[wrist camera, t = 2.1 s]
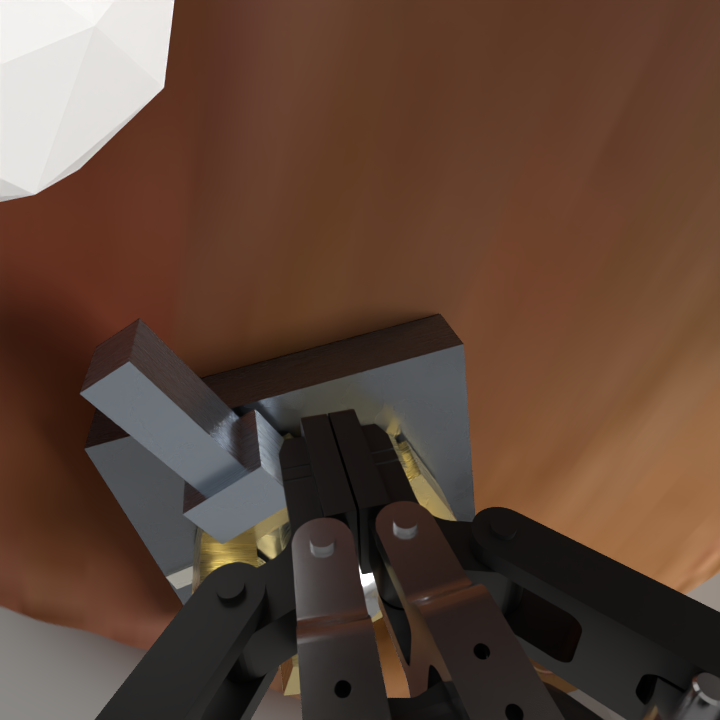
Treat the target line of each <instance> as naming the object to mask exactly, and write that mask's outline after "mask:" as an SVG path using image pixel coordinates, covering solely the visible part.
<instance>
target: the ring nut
mask: <svg viewBox="0 0 720 720" xmlns="http://www.w3.org/2000/svg"><path fill="white" fill-rule="evenodd" d="M80 394H81V395H82V396H83V397H84V398H85V399H87V400H88V401H89V402H90V403H92V404H93V405H94V406H95V407H96V408H98V409H99V410H100V411H101V412H103V413H104V414H105V415H106V416H107V417H109V418H110V419H111V420H112V421H114V422H115V423H116V424H117V425H119V426H120V427H121V428H122V429H123V430H125V431H126V432H127V433H128V434H130V435H131V436H132V437H133V438H134V439H136V440H137V441H138V442H139V443H141V444H142V445H143V446H144V447H145V448H147V449H148V450H149V451H150V452H152V453H153V454H154V455H155V456H156V457H158V458H159V459H160V460H161V461H163V462H164V463H165V464H166V465H167V466H169V467H170V468H171V469H172V470H174V471H175V472H176V473H177V474H178V475H180V476H181V477H182V478H183V479H185V484H184V501H183V515H184V516H185V517H187V518H188V519H189V520H191V521H192V522H193V523H195V524H196V525H197V526H198V528H197V534H196V540H195V546H194V552H193V579H192V594H193V593H194V592H195V591H196V589H197V588H198V587H199V585H200V584H201V583H202V582H203V580H204V579H205V578H206V577H207V576H208V575H209V574H210V573H211V572H212V571H214V570H215V569H217V568H218V567H220V566H223V565H225V564H228V563H233V562H243V563H248V564H251V565H253V566H255V567H256V568H257V567H259V566H261V565H263V564H265V563H266V562H264V561H263V560H262V559H261V558H259V557H258V556H257V549H256V541H257V540H258V539H260V538H262V537H263V536H265V535H267V534H268V533H270V532H272V531H273V530H275V529H277V528H278V527H280V526H282V525H284V524H285V523H287V522H289V519H288V513H287V507H286V501H285V495H284V488H283V481H282V474H281V467H280V461H279V452H280V449H281V447H282V444H283V442H284V440H286V439H292V438H293V437H292V435H291V434H290V433H288V434H286V435H284V436H283V437H282V436H281V435H280V434H279V433H278V432H277V431H276V430H275V429H274V428H273V427H272V426H271V425H270V424H269V423H268V422H267V421H266V420H265V419H264V418H263V417H262V415H261V414H260V413H259V412H258V411H257V410H256V409H253V410H252V411H250V412H249V413H247V414H245V415H244V416H242V417H241V418H239V417H238V416H237V415H236V414H235V413H234V412H233V411H232V410H231V409H230V408H229V407H228V406H227V405H226V404H225V403H224V402H223V401H222V400H221V399H220V398H219V397H218V396H217V395H216V394H215V393H214V392H213V391H212V390H211V389H210V388H209V387H208V386H207V385H206V384H205V383H204V382H203V381H202V380H201V379H200V378H199V377H198V376H197V375H196V374H195V373H194V372H193V371H192V370H191V369H190V368H189V367H188V366H187V365H186V364H185V363H184V362H183V361H182V360H181V359H180V358H179V357H178V356H177V355H176V354H175V353H174V352H173V351H172V350H171V349H170V348H169V347H168V346H167V345H166V344H165V343H164V342H163V341H162V340H161V339H160V338H159V337H158V336H157V335H156V334H155V333H154V332H153V331H152V330H151V329H150V328H149V327H148V326H147V325H146V324H145V323H144V322H143V321H142V320H141V319H140V318H139V319H138V320H136V321H134V322H133V323H131V324H130V325H128V326H127V327H125V328H124V329H122V330H121V331H119V332H118V333H116V334H115V335H113V336H112V337H110V338H109V339H107V340H106V341H104V342H103V343H101V344H100V345H98V346H97V347H96V348H95V351H94V354H93V357H92V360H91V363H90V366H89V368H88V371H87V374H86V377H85V380H84V383H83V385H82V388H81V391H80ZM387 434H388V435H389V438H390V440H391V442H392V444H393V447H394V450H395V451H396V453H397V456H398V458H399V461H400V462H401V464H402V467H403V469H404V471H405V473H406V476H407V478H408V480H409V482H410V485H411V487H412V489H413V491H414V494H415V496H416V498H417V500H418V502H419V504H420V505H422V506H423V507H425V508H426V509H427V510H428V511H429V512H430V513H431V514H432V515H434V516H435V517H438V518H441V519H445V520H451V521H457V520H456V518H455V516H454V514H453V512H452V510H451V508H450V506H449V504H448V502H447V500H446V498H445V496H444V494H443V492H442V489H441V487H440V486H439V484H438V483H437V482H436V480H435V479H434V478H433V476H432V475H431V473H430V472H429V471H428V469H427V468H426V467H425V465H424V464H423V463H422V461H421V460H420V459H419V457H418V456H417V455H416V453H415V452H414V450H413V449H412V448H411V446H410V445H409V444H408V442H407V441H406V440H404V441H403V442H401V443H399V444H398V445H397V443H396V440H395V438H394V436H393V433H387ZM381 617H383V616H382V613H381V610H379V612H378V613H377V614H376V615H375V616H374V617H372V618H371V619H372V622H374V621H376V620H378V619H380V618H381ZM280 667H281V676H282V686H283V695H293V694H300V679H299V665H298V654H296V655H294V656H293V657H291V658H290V659H288V660H287V661H285V662H284V663H282V664H280Z"/></svg>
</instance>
